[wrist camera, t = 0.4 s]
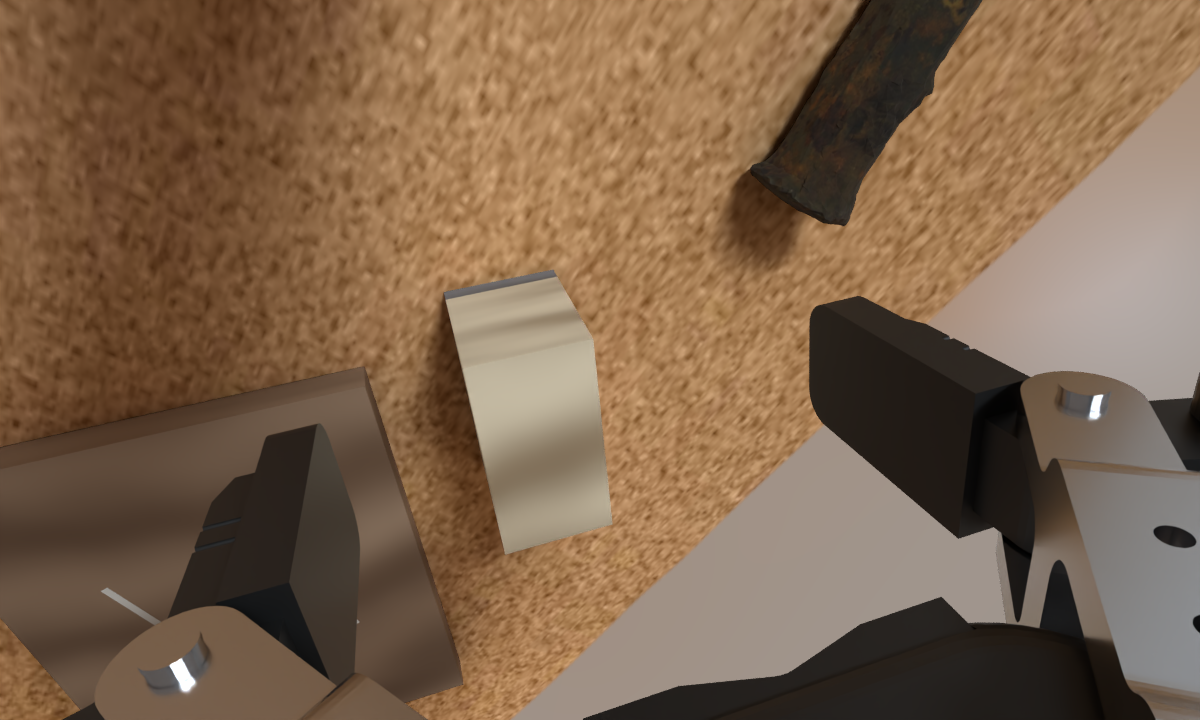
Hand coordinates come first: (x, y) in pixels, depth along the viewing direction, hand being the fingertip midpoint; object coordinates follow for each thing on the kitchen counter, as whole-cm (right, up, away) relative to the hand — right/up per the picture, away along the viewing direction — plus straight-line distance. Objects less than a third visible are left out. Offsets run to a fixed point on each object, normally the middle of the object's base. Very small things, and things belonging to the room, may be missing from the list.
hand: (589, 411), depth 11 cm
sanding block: (-4, 0, +20) cm, 20 cm away
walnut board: (-16, -10, +21) cm, 28 cm away
